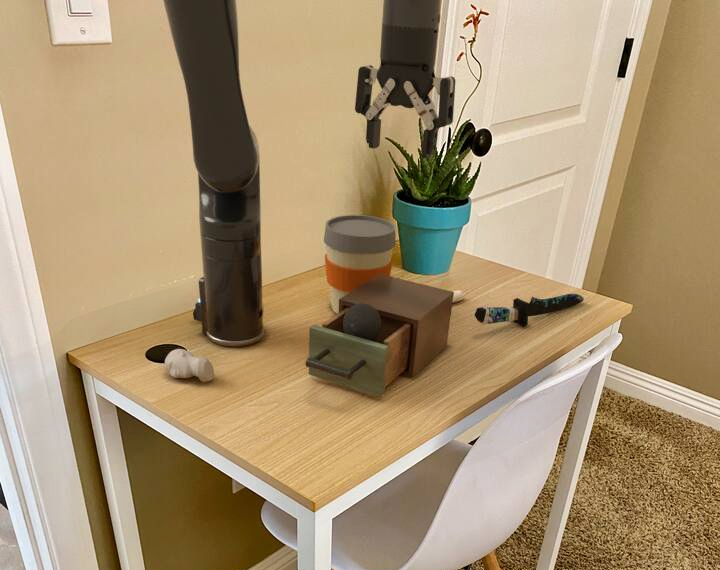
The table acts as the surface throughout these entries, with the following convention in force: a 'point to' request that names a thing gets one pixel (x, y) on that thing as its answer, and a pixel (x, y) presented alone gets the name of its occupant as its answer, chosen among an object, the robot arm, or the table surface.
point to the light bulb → (362, 321)
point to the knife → (526, 309)
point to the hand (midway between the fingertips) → (400, 152)
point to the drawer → (359, 354)
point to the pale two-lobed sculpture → (188, 365)
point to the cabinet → (409, 313)
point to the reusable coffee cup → (356, 252)
